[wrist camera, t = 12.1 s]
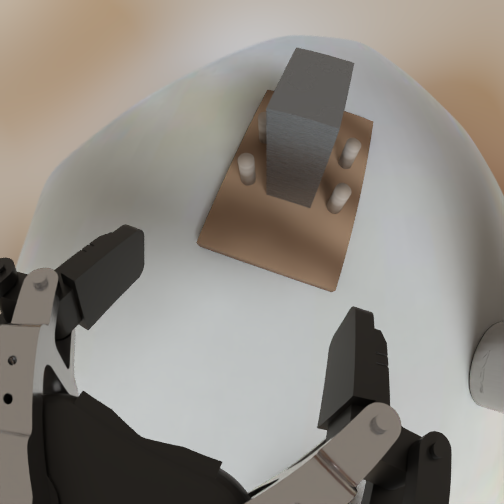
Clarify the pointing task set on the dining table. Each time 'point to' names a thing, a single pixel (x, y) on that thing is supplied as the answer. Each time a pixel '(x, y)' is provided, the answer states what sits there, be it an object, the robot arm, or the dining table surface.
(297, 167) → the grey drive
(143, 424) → the dining table surface
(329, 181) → the wooden peg stand
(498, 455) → the dining table surface
